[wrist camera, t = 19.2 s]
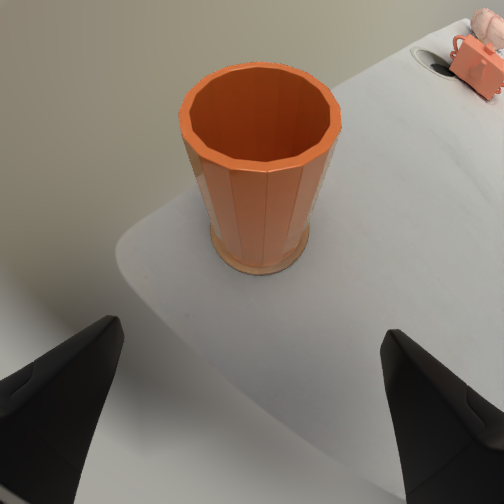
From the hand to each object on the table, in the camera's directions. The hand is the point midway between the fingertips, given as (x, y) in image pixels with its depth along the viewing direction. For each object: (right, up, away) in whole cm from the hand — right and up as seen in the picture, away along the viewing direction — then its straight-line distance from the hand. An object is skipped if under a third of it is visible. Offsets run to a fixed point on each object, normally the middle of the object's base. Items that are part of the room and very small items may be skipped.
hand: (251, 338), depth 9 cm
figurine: (+54, +51, +30) cm, 81 cm away
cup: (+1, +5, +15) cm, 16 cm away
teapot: (+37, +31, +24) cm, 54 cm away
